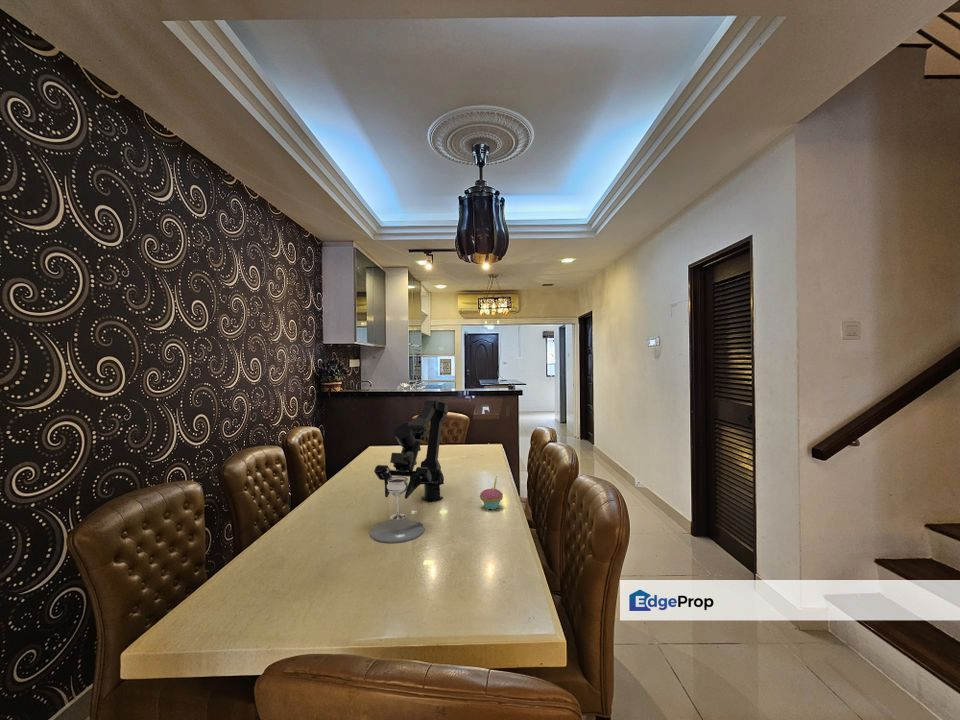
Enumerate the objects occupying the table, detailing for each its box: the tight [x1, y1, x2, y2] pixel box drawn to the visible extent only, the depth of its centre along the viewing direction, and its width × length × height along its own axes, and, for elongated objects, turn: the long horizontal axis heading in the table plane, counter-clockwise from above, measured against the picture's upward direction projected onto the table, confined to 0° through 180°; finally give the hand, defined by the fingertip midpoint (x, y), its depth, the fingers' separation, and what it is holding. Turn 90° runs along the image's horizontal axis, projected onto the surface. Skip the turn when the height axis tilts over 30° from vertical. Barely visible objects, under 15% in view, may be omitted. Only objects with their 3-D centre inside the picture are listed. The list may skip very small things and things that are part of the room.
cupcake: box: [479, 476, 504, 510], centre depth 156 cm, size 9×8×12 cm
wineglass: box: [387, 476, 409, 520], centre depth 135 cm, size 7×7×12 cm
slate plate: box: [370, 518, 425, 544], centre depth 135 cm, size 17×17×1 cm
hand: (395, 497), depth 134 cm, fingers closed on wineglass, 6 cm apart
